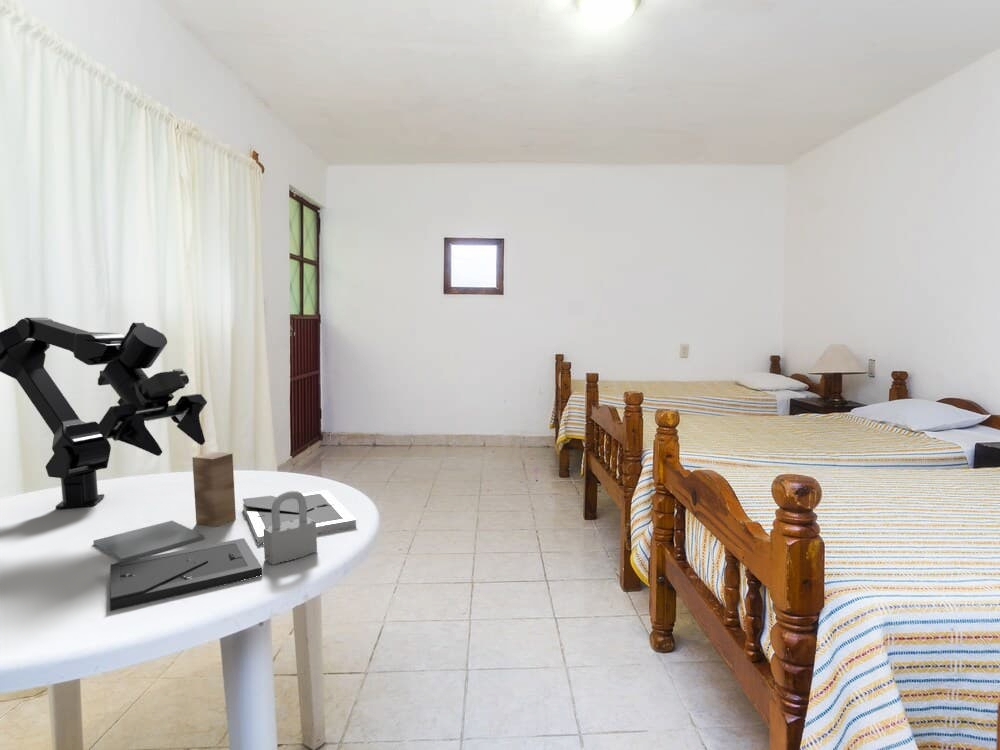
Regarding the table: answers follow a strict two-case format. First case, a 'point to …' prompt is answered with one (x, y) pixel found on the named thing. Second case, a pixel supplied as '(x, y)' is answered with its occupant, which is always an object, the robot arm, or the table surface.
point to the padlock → (289, 532)
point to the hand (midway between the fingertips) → (182, 448)
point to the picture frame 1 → (180, 572)
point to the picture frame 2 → (318, 509)
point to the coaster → (147, 540)
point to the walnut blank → (214, 488)
